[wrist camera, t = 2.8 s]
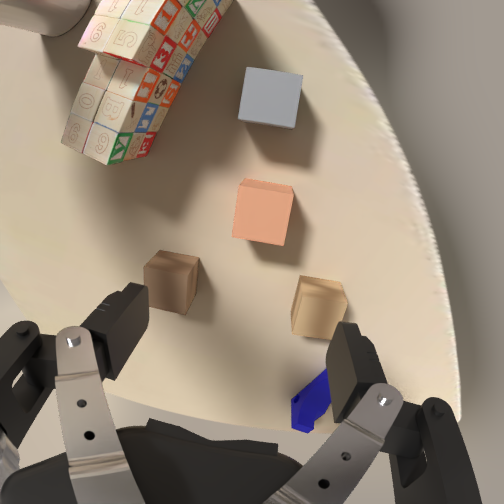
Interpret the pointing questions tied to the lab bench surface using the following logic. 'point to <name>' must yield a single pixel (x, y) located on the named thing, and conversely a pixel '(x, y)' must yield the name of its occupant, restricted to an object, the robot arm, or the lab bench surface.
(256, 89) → the gray block
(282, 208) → the terracotta block
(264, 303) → the lab bench surface
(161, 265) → the tan block
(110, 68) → the stack of blocks
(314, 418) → the blue cradle bracket
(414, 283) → the lab bench surface
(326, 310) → the oak block
